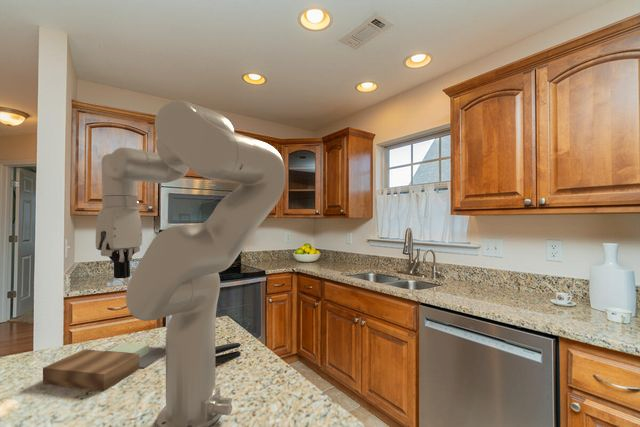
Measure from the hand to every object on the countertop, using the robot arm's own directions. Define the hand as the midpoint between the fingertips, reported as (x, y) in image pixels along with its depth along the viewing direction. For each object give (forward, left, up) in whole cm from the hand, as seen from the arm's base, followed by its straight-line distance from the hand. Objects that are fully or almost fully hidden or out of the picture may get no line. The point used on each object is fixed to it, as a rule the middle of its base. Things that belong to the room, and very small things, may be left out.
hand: (122, 277), depth 78 cm
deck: (+11, -2, -26) cm, 28 cm away
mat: (+11, -14, -26) cm, 31 cm away
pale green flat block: (+11, -13, -25) cm, 30 cm away
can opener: (-17, -13, -27) cm, 34 cm away
